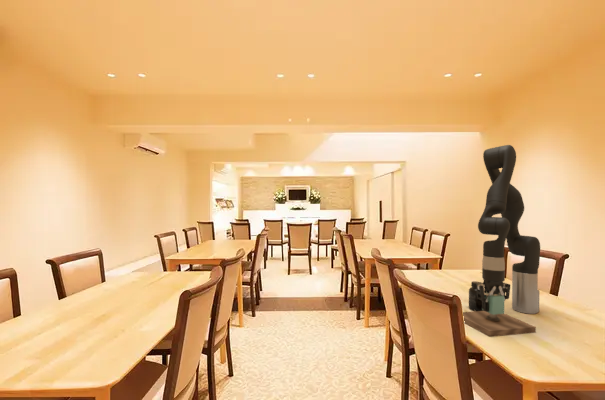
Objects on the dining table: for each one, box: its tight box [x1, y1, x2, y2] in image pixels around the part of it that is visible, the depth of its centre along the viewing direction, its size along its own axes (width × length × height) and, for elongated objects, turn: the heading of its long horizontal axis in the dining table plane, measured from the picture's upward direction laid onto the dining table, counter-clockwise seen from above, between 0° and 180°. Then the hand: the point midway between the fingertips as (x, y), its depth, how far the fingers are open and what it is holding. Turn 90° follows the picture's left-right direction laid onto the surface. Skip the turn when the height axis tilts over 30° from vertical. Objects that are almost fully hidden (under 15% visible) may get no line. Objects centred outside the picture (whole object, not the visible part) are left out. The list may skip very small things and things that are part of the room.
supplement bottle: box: [468, 280, 484, 312], centre depth 137 cm, size 7×7×12 cm
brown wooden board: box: [463, 310, 537, 337], centre depth 120 cm, size 20×18×9 cm
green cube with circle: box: [482, 293, 505, 315], centre depth 120 cm, size 5×5×7 cm
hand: (493, 310), depth 120 cm, fingers open, 6 cm apart
